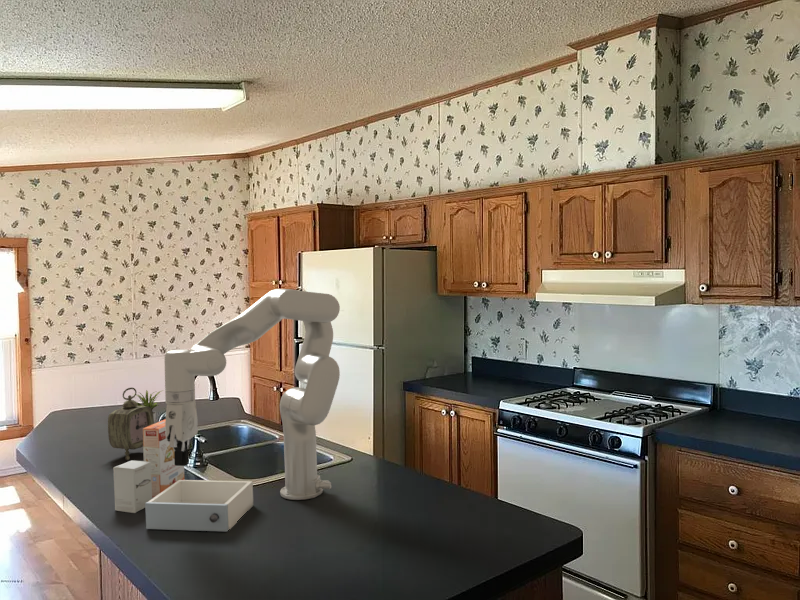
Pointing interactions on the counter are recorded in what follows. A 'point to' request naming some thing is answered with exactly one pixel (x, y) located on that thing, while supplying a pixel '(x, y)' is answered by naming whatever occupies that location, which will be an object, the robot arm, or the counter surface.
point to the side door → (186, 516)
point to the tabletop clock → (129, 424)
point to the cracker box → (160, 458)
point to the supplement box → (132, 486)
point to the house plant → (150, 404)
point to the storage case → (212, 495)
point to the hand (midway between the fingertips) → (181, 464)
